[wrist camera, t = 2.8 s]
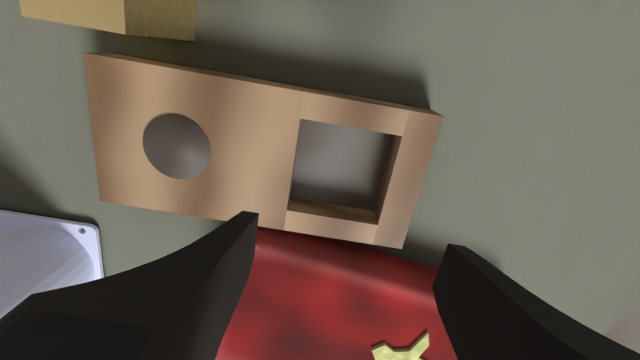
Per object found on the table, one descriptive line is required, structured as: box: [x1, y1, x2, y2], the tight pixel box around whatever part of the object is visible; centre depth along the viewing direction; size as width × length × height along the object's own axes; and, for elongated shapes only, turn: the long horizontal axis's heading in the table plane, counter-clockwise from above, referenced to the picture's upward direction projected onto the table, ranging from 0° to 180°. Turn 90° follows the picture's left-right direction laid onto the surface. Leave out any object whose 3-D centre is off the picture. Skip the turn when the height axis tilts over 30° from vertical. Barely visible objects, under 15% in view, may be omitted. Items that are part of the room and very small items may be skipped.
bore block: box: [84, 53, 444, 249], centre depth 20 cm, size 20×9×3 cm, turn 80°
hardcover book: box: [215, 226, 458, 360], centre depth 25 cm, size 12×21×4 cm, turn 71°
